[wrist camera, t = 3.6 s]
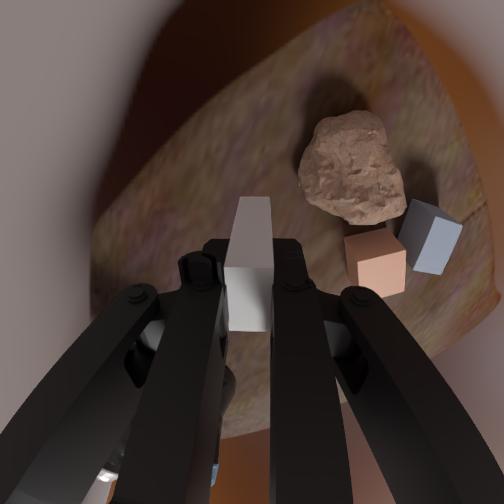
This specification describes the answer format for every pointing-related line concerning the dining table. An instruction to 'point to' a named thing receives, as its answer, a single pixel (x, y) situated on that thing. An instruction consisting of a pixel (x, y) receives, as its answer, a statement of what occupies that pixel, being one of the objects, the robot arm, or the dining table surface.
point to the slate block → (428, 237)
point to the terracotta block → (376, 261)
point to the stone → (352, 170)
